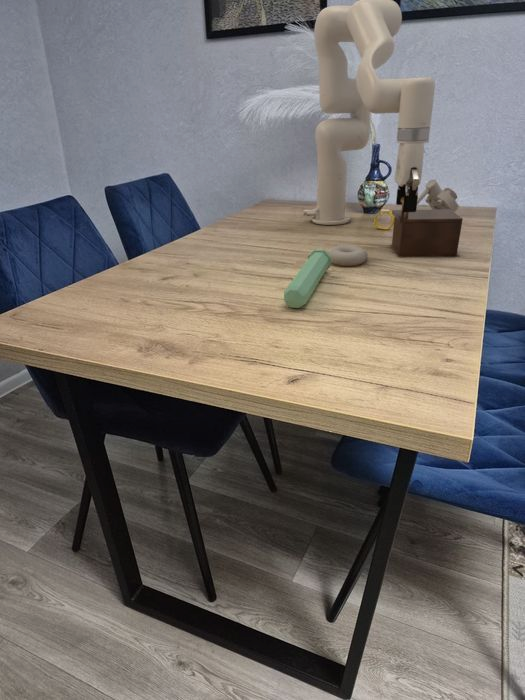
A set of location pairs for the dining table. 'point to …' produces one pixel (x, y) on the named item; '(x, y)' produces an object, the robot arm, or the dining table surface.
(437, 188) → the valve
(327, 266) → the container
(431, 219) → the lid
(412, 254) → the chest
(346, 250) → the donut
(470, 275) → the dining table surface
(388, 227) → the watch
